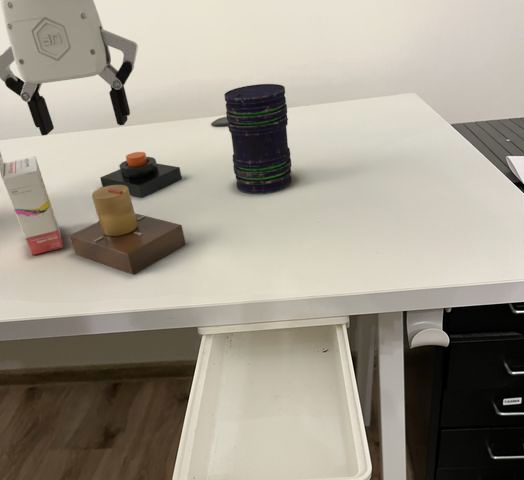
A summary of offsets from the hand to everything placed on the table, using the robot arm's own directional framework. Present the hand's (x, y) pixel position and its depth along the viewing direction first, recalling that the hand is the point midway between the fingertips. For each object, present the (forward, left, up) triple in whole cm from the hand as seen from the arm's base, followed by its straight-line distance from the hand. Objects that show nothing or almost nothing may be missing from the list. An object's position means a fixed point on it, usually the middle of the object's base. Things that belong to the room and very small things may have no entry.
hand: (85, 127), depth 69 cm
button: (-19, +21, -14) cm, 32 cm away
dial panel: (+1, +1, -17) cm, 17 cm away
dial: (0, +1, -14) cm, 14 cm away
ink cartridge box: (-14, -3, -18) cm, 23 cm away
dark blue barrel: (+3, +30, -17) cm, 35 cm away
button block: (-19, +21, -17) cm, 33 cm away
